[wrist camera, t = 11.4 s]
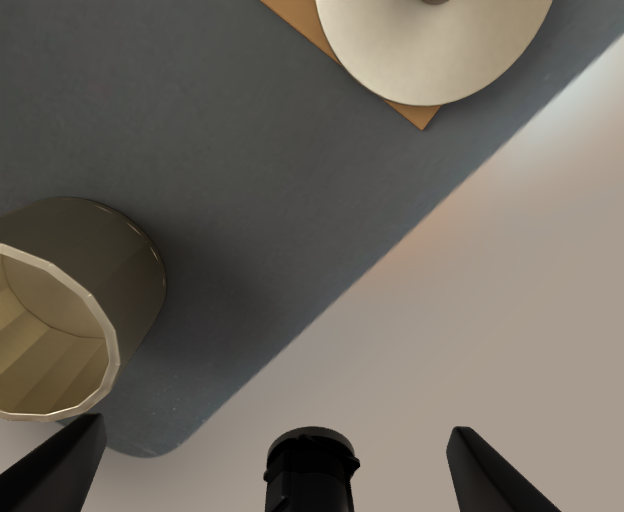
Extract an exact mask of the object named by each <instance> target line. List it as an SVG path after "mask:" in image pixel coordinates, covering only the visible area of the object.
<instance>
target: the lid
mask: <svg viewBox="0 0 624 512" xmlns="http://www.w3.org/2000/svg"><path fill="white" fill-rule="evenodd" d="M314 1H315V6H316V11H317V16H318V19H319V22H320V26H321V29H322V32H323V34H324V37H325V39H326V41H327V43H328V45H329V47H330V49H331V51H332V53H333V54H334V56H335V57H336V59H337V61H338V62H339V64H340V65H341V66H342V67H343V68H344V70H345V71H346V72H347V73H348V75H350V76H351V77H352V78H353V79H354V80H355V81H356V82H357V83H358V84H359V85H361V86H362V87H363V88H365V89H366V90H368V91H369V92H371V93H372V94H374V95H376V96H378V97H380V98H382V99H385V100H388V101H391V102H394V103H397V104H403V105H409V106H435V105H443V104H447V103H450V102H454V101H457V100H460V99H462V98H465V97H467V96H470V95H472V94H474V93H475V92H477V91H479V90H481V89H483V88H484V87H486V86H487V85H489V84H490V83H491V82H493V81H494V80H496V79H497V78H498V77H499V76H500V75H502V74H503V73H504V72H505V71H506V70H507V69H508V68H509V67H510V66H511V65H512V64H513V63H514V62H515V61H516V60H517V59H518V58H519V56H520V55H521V54H522V53H523V52H524V50H525V49H526V48H527V46H528V45H529V44H530V42H531V41H532V39H533V38H534V36H535V35H536V33H537V31H538V30H539V28H540V26H541V24H542V23H543V21H544V19H545V17H546V14H547V12H548V10H549V8H550V6H551V4H552V1H553V0H314Z"/></svg>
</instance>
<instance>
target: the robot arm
mask: <svg viewBox="0 0 624 512" xmlns="http://www.w3.org/2000/svg"><path fill="white" fill-rule="evenodd" d="M106 443H107V433H106V428H105V423H104V418H103V415H102V414H100V413H84V414H82V415H80V416H79V417H77V418H76V419H75V420H73V421H72V422H71V423H69V424H68V425H67V426H65V427H64V428H62V429H61V430H60V431H59V432H57V433H56V434H54V435H53V436H52V437H50V438H49V439H48V440H46V441H45V442H44V443H42V444H41V445H40V446H38V447H37V448H35V449H34V450H33V451H31V452H30V453H29V454H27V455H26V456H25V457H23V458H22V459H21V460H19V461H18V462H17V463H15V464H14V465H12V466H11V467H10V468H8V469H7V470H6V471H4V472H3V473H2V474H0V512H80V511H81V509H82V506H83V504H84V502H85V499H86V497H87V494H88V491H89V489H90V486H91V483H92V481H93V478H94V476H95V473H96V470H97V468H98V465H99V462H100V460H101V457H102V454H103V452H104V449H105V447H106ZM446 454H447V459H448V464H449V467H450V472H451V476H452V480H453V484H454V488H455V492H456V496H457V500H458V504H459V509H460V512H561V511H560V510H559V509H558V508H557V507H556V506H555V505H554V504H553V503H551V502H550V501H549V500H548V499H547V498H546V497H545V496H544V495H543V494H542V493H541V492H540V491H539V490H537V489H536V488H535V487H534V486H533V485H532V484H531V483H530V482H529V481H528V480H527V479H526V478H525V477H524V476H522V475H521V474H520V473H519V472H518V471H517V470H516V469H515V468H514V467H513V466H512V465H511V464H510V463H509V462H508V461H506V460H505V459H504V458H503V457H502V456H501V455H500V454H499V453H498V452H497V451H496V450H495V449H494V448H492V447H491V446H490V445H489V444H488V443H487V442H486V441H485V440H484V439H483V438H482V437H481V436H479V434H477V433H476V432H475V431H474V430H473V429H472V428H470V427H461V426H457V427H454V428H453V430H452V434H451V436H450V439H449V442H448V445H447V451H446ZM359 467H360V460H359V459H358V458H356V457H354V456H352V455H349V454H347V453H345V452H343V451H341V450H339V449H337V448H335V447H333V446H330V445H328V444H326V443H324V442H322V441H320V440H318V439H316V438H313V437H311V436H309V435H307V434H300V435H299V436H298V437H297V438H296V439H295V440H294V441H293V442H292V443H291V444H290V445H289V446H288V447H287V448H286V450H284V451H283V452H282V453H281V454H280V455H279V456H278V457H277V458H276V459H275V460H274V461H273V462H272V463H271V465H270V466H269V467H268V469H267V470H266V471H265V472H264V474H263V480H264V481H265V482H267V491H266V504H265V512H354V505H353V498H352V490H351V482H350V476H351V475H352V474H353V473H354V472H355V471H356V470H357V469H358V468H359Z"/></svg>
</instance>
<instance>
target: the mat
mask: <svg viewBox="0 0 624 512" xmlns="http://www.w3.org/2000/svg"><path fill="white" fill-rule="evenodd" d="M260 1H261V2H262V3H264V4H265V5H266V6H267V7H269V8H270V9H271V10H272V11H273V12H275V13H276V14H277V15H278V16H280V17H281V18H282V19H283V20H285V21H286V22H287V23H288V24H290V25H291V26H292V27H293V28H295V29H296V30H297V31H298V32H299V33H301V34H302V35H303V36H304V37H306V38H307V39H308V40H309V41H311V42H312V43H313V44H314V45H316V46H317V47H318V48H319V49H321V50H322V51H323V52H324V53H326V54H327V55H328V56H329V57H330V58H332V59H333V60H334V61H335V62H337V63H338V64H339V62H338V61H337V59H336V57H335V56H334V54H333V53H332V51H331V49H330V47H329V45H328V43H327V41H326V39H325V37H324V34H323V32H322V29H321V26H320V22H319V19H318V16H317V11H316V6H315V1H314V0H260ZM339 65H340V64H339ZM340 66H341V65H340ZM381 99H382V98H381ZM383 100H384V101H385V102H386V103H387V104H389V105H390V106H391V107H392V108H394V109H395V110H396V111H397V112H399V113H400V114H401V115H402V116H404V117H405V118H406V119H407V120H409V121H410V122H411V123H412V124H413V125H415V126H416V127H417V128H418V129H420V130H423V129H424V128H425V126H426V125H427V124H428V122H429V121H430V120H431V118H432V117H433V116H434V115H435V113H436V112H437V111H438V109H439V108H440V107H441V105H435V106H409V105H403V104H397V103H394V102H391V101H388V100H385V99H383Z"/></svg>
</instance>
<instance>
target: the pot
mask: <svg viewBox="0 0 624 512" xmlns="http://www.w3.org/2000/svg"><path fill="white" fill-rule="evenodd" d="M166 290H167V279H166V273H165V268H164V265H163V262H162V259H161V257H160V255H159V253H158V251H157V249H156V248H155V246H154V244H153V243H152V241H151V240H150V239H149V238H148V236H147V235H146V234H145V233H144V232H143V231H142V230H141V229H140V228H139V227H138V226H137V225H136V224H135V223H133V222H132V221H131V220H130V219H128V218H127V217H125V216H124V215H122V214H121V213H119V212H117V211H115V210H113V209H111V208H109V207H107V206H105V205H102V204H100V203H97V202H94V201H90V200H86V199H81V198H73V197H56V198H48V199H44V200H40V201H37V202H35V203H32V204H29V205H27V206H24V207H21V208H18V209H15V210H13V211H10V212H8V213H5V214H3V215H1V216H0V418H3V419H6V420H11V421H35V422H52V421H56V420H60V419H63V418H67V417H71V416H74V415H78V414H81V413H84V412H86V411H87V410H89V409H90V408H91V407H92V406H94V405H95V404H96V403H97V402H99V401H100V400H101V399H102V398H104V397H105V396H106V395H107V394H108V393H109V392H110V391H111V390H112V388H113V386H114V385H115V383H116V382H117V380H118V379H119V377H120V375H121V374H122V372H123V371H124V369H125V368H126V366H127V364H128V363H129V361H130V360H131V358H132V357H133V355H134V353H135V352H136V350H137V349H138V347H139V346H140V344H141V342H142V341H143V339H144V338H145V336H146V335H147V333H148V331H149V330H150V328H151V327H152V325H153V324H154V322H155V320H156V318H157V316H158V313H159V312H160V310H161V308H162V306H163V303H164V300H165V296H166Z"/></svg>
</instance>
